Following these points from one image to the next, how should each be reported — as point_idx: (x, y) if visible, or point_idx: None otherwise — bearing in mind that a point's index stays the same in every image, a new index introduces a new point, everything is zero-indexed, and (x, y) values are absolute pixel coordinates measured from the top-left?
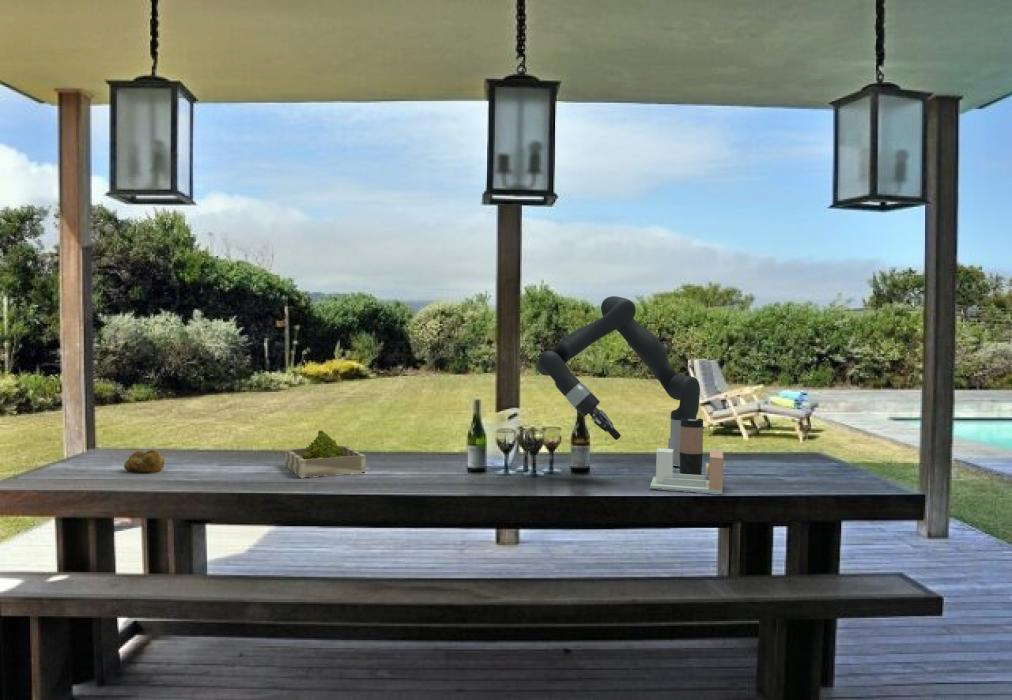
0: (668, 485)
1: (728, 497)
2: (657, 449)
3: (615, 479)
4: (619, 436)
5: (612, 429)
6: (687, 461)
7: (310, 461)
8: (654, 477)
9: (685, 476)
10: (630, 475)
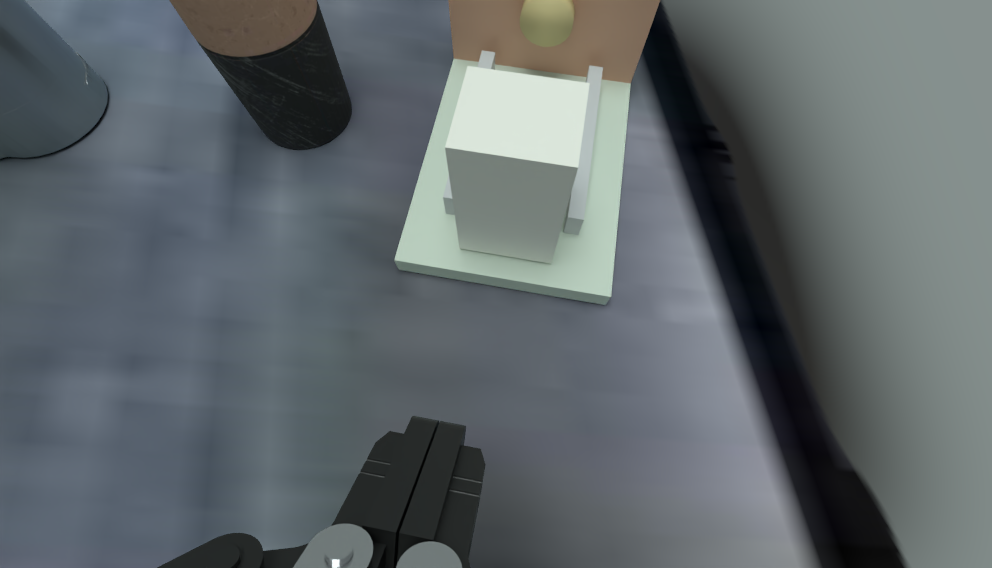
0: (594, 217)
1: (661, 51)
2: (492, 154)
3: (360, 468)
4: (464, 437)
5: (463, 549)
6: (320, 67)
7: None
8: (414, 257)
9: None
10: (250, 371)
